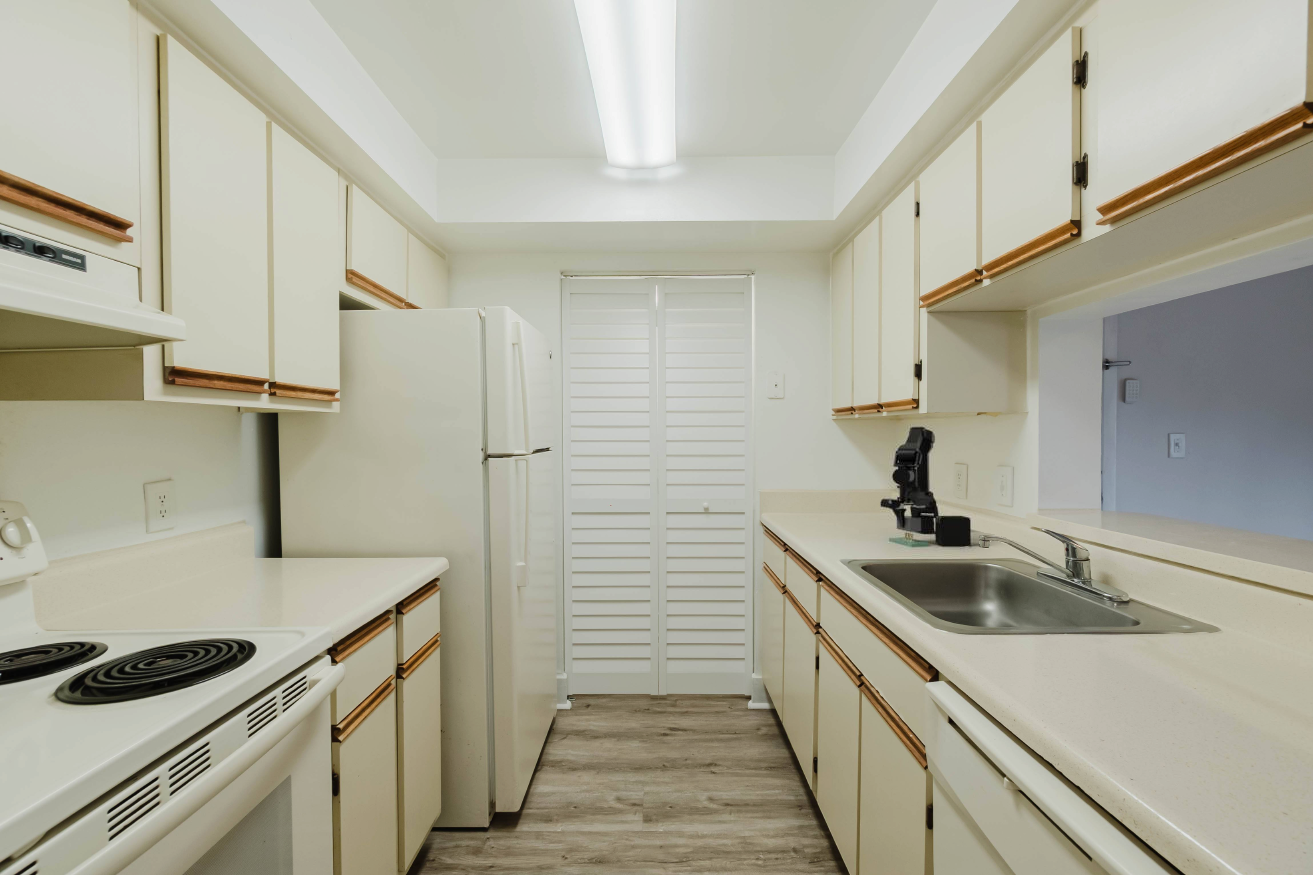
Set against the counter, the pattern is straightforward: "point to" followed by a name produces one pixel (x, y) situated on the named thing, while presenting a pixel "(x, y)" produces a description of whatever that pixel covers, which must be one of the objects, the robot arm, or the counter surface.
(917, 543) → the header board
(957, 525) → the electronic device
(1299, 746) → the counter surface
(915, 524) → the block
